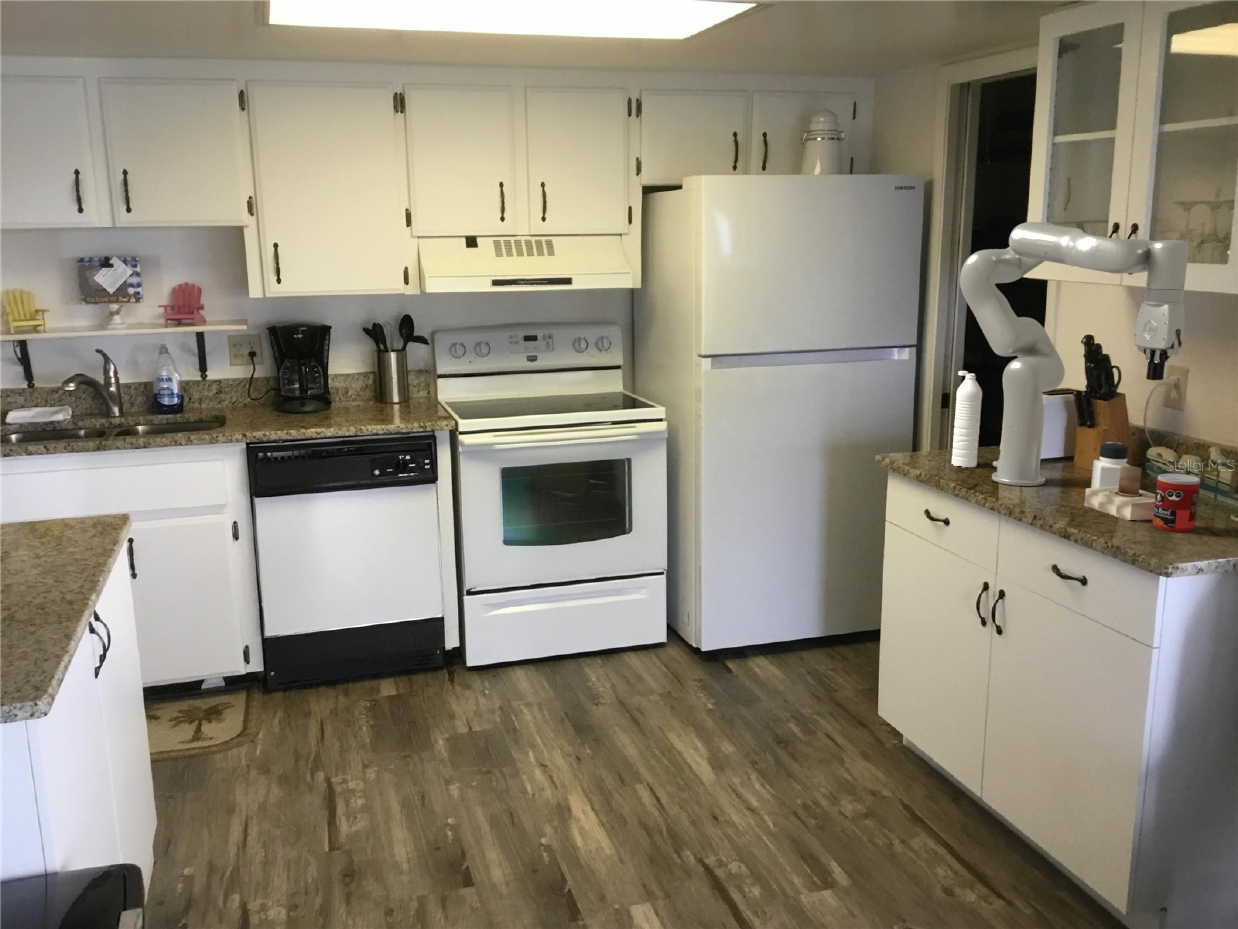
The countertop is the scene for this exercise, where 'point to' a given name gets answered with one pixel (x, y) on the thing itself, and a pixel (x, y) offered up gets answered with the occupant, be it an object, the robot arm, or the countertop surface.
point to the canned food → (1176, 502)
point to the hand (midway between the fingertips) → (1154, 379)
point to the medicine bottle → (1109, 465)
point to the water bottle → (967, 422)
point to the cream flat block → (1121, 503)
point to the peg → (1129, 481)
